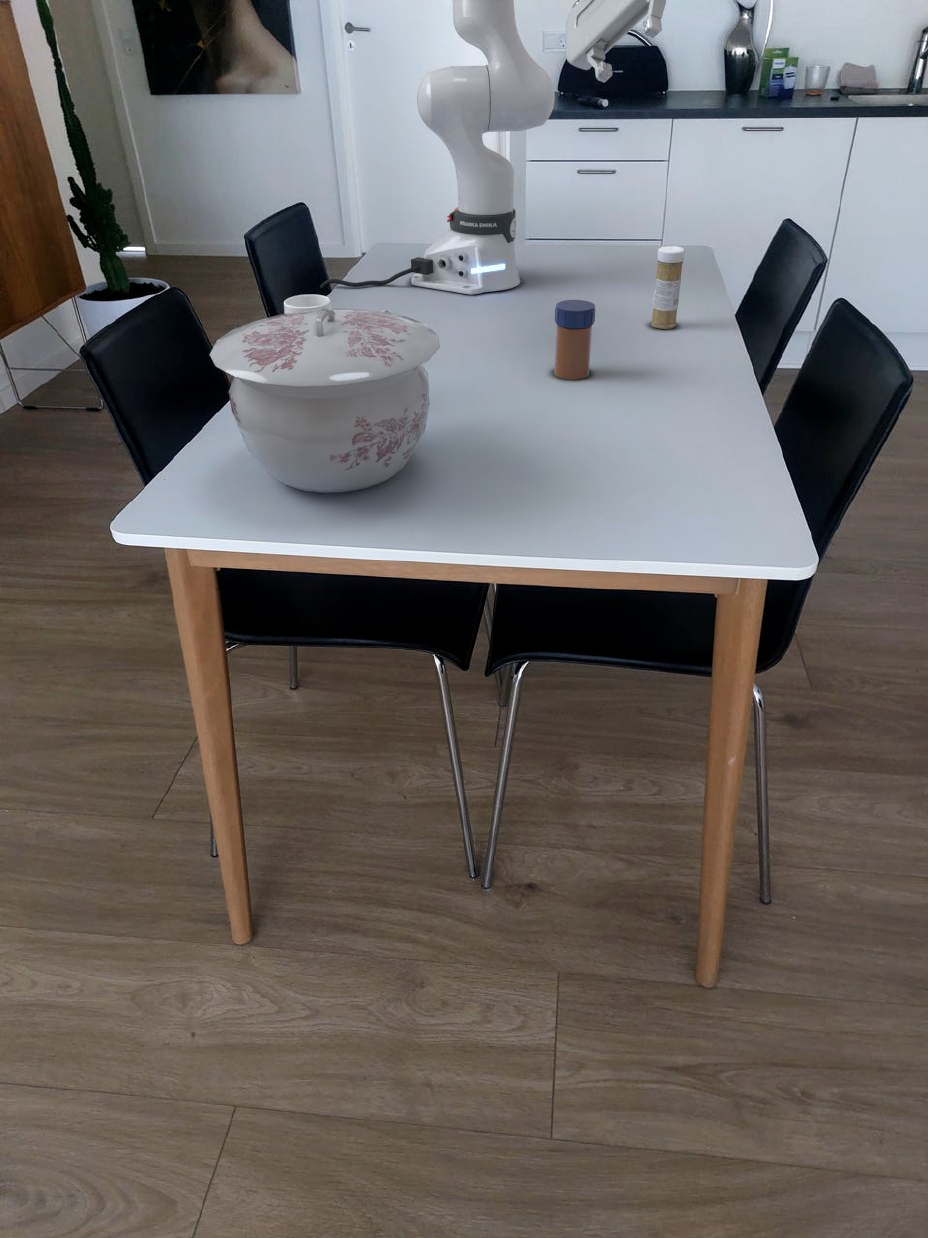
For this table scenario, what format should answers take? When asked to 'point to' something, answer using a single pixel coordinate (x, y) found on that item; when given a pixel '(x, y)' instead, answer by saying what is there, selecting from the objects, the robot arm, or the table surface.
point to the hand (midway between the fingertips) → (628, 56)
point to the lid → (575, 314)
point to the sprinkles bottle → (667, 286)
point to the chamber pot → (329, 394)
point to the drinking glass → (306, 303)
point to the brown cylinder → (572, 352)
